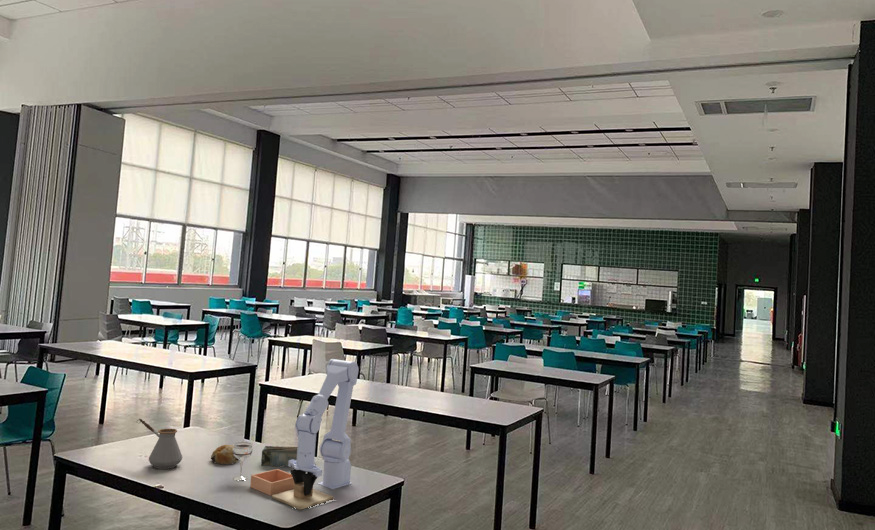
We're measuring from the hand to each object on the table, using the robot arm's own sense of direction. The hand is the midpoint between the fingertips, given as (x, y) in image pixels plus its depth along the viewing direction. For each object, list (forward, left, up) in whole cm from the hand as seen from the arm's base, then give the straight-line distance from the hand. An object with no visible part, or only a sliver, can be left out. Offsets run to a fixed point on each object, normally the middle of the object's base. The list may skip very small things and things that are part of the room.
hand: (303, 493), depth 207 cm
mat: (0, 0, -2) cm, 2 cm away
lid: (0, 0, -2) cm, 2 cm away
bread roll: (-6, -52, -3) cm, 53 cm away
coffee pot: (+15, -65, -3) cm, 67 cm away
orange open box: (0, -15, -2) cm, 15 cm away
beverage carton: (-21, -34, -3) cm, 41 cm away
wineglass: (+2, -31, -3) cm, 31 cm away
